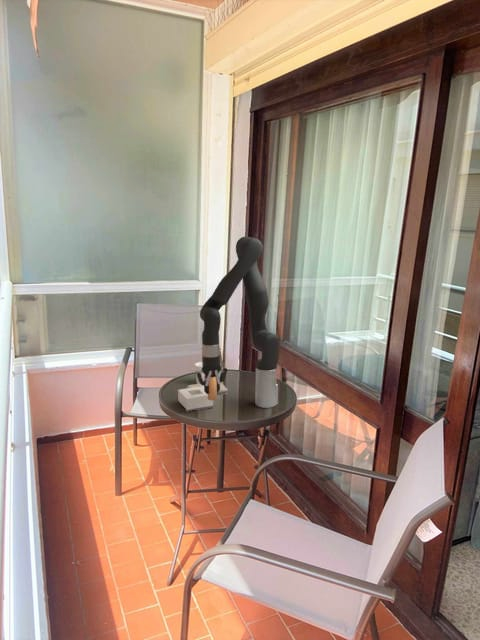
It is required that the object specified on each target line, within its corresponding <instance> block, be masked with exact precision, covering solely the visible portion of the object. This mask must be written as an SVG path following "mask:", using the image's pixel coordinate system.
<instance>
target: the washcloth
mask: <svg viewBox="0 0 480 640" xmlns="http://www.w3.org/2000/svg"><path fill="white" fill-rule="evenodd" d="M200 386H204V385H201V384H197V383H196V384H189V385H187V386H186V389H187V388H193V387H200ZM228 390H229V389H228V388H227V387H226V386H225V385H224V384H223V382H221V383H220V391H219V392H217V396H221V395H228Z"/></svg>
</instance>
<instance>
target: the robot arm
mask: <svg viewBox="0 0 480 640" xmlns="http://www.w3.org/2000/svg"><path fill="white" fill-rule="evenodd" d="M263 250H264V247H263V243H262V241H260V240H259V239H258V238H255V237H252V236H242V237H240V238H239V239H238V240H237V242H236V244H235V254H236V256H237V260H236V263H235V264H234V266H232V268H231V269H230V270H229V271H228V272H227V273H226V274H225V276H224V277H222V278H221V280H220V281H219V282H218V285H217V286H216V288H215V289H214V291H213V293H212V295H211V296H210V297H209V298H208V299H207V301H206V302H204V304H203V305H202V307H201V309H200V311H199V317H200V319H201V320H202V321H203V330H202V334H201V340H202V341H201V362H202V366H203V367H202V370H200V371H196V372H195V376H196V375H197V378H198V380H199V383H200V384H201V385H204V391H205V393H206V394H209V386H208V383H209V381H210V377H216V379H217V392H219V391H220V383H223V382H225V380H226V376H227V372H228V368H227V367H225V366H221V347H220V329H221V320H222V319H221V313H220V310H221V308H222V307H223V306H226V305H227V304H228V303H229V301H230V299H231V298H232V297H233V294H234V292H235V291H236V289H237V288H238V286H239V285H240V283H241V282H242V283H243V287H244V293H245V294H244V295H245V297H246V299H245V300H246V304H247V308H248V315H249V320H250V326H251V338H252V341H251V342H252V345H253V347H254V348H255V350H256V351H258V352H261V358H259V359H257V360H256V361H255V397H254V399H255V400H254V401H255V402H254V403H255V406H257V407H259V408H267V409H268V408H269V409H270V408H273V407H275V406H277V405H278V404H279V403H278V402H279V384H278V383H277V377H278V376H277V375H278V374H277V373H278V372H277V369H278V368H277V367H278V363H279V359H280V358H279V357H280V348H281V346H280V345H281V343H280V338H279V336H278V335H277V334H276V333H272V332H269V331H268V329H267V326H266V325H267V323H266V314H267V312H268V308H269V303H270V301H269V294H268V288H267V286H266V283H265V281H264V278H263V276H262V275H261V272H260V270H259V267H258V263H257V262H258V260H259V259H260V257H261V256H262V255H263ZM202 373H204V374H205V376H204V382H203V380H202V377H201V376H202ZM219 374H220V376H219Z"/></svg>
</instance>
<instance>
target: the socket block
mask: <svg viewBox="0 0 480 640" xmlns="http://www.w3.org/2000/svg"><path fill="white" fill-rule="evenodd" d="M177 395H178V397H177V398H178V399H177V401H179V402H180V404H181V405H182V406H183V407H184V408H185V409H186V410H187V411H191V410H196V411H201V410H200V409H202V410H207V409H206V408H208V409H211V408H212V409H213V408H214V400H208V394H206V393H205V391H204V386H200V387H193V388H187V387H186V388H181V389H177ZM179 402H178V403H179ZM180 404H179V405H180ZM181 405H180V406H181ZM182 406H181V407H182ZM183 407H182V408H183ZM184 408H183V409H184ZM185 409H184V410H185ZM186 410H185V411H186ZM187 411H186V412H187ZM191 412H192V411H191Z"/></svg>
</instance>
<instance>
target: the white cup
mask: <svg viewBox="0 0 480 640" xmlns="http://www.w3.org/2000/svg"><path fill="white" fill-rule="evenodd" d="M194 367H195V368H194V369H195V373H196V371H200V370H202V367H203V366H202V361H198V362H196V363H194ZM204 376H205V374H204V373H202V376H201V377H202V380H203V382H204ZM195 378H196V379H195V380H196V384H200V383H199V380H198V378H197V375H196V374H195Z"/></svg>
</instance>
